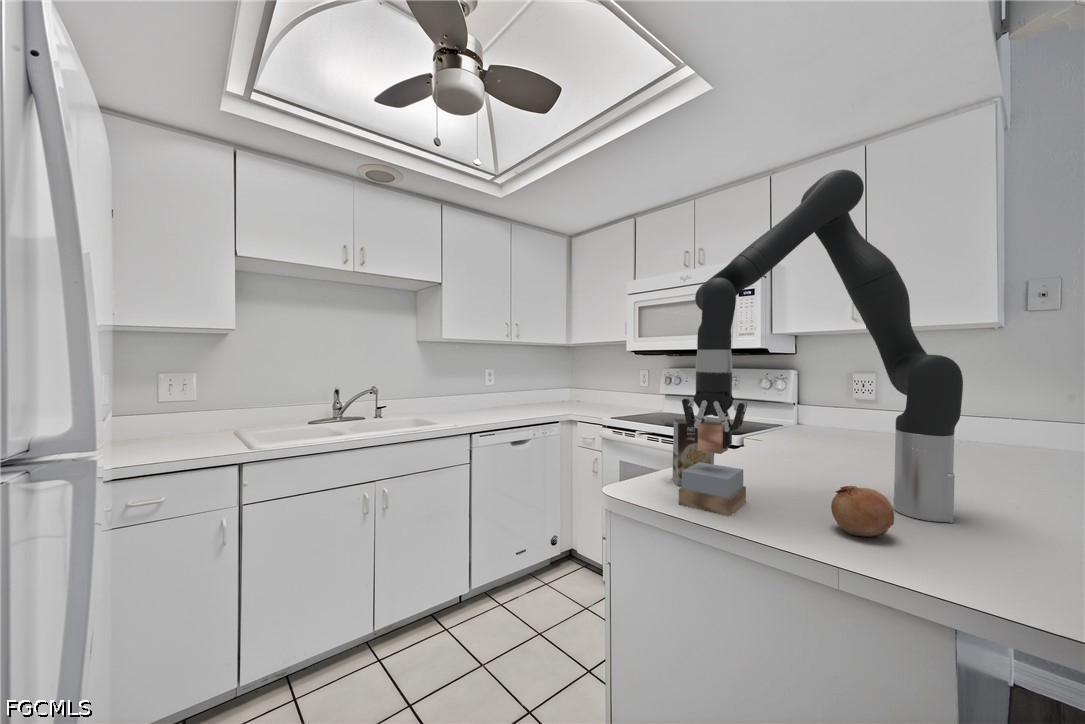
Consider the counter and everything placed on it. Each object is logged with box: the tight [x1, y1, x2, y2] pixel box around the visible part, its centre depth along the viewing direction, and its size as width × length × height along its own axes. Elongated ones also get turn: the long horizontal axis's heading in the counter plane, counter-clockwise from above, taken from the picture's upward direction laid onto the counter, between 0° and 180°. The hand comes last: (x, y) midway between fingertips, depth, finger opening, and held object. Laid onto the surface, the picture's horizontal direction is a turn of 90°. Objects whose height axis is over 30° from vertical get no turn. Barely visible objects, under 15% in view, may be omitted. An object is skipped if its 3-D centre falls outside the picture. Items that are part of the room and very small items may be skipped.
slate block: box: [681, 462, 744, 499], centre depth 98 cm, size 10×10×4 cm
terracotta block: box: [698, 420, 729, 455], centre depth 98 cm, size 5×5×6 cm
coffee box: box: [672, 418, 715, 487], centre depth 113 cm, size 9×6×16 cm
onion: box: [830, 485, 895, 538], centre depth 82 cm, size 10×9×10 cm
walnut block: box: [678, 485, 747, 517], centre depth 98 cm, size 11×11×4 cm
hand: (712, 445), depth 98 cm, fingers closed on terracotta block, 5 cm apart
